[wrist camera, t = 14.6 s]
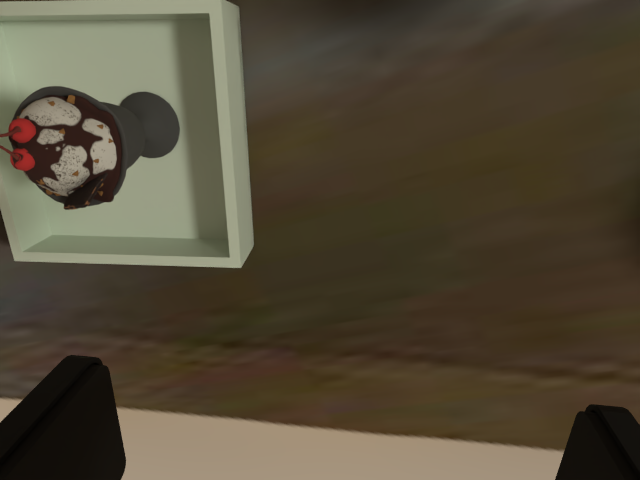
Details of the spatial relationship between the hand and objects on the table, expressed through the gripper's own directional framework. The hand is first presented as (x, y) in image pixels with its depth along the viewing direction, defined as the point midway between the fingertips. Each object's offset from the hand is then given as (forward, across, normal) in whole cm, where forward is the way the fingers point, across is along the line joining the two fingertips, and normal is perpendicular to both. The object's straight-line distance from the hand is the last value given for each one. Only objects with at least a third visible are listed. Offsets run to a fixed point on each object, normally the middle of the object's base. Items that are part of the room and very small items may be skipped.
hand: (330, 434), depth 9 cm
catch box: (+27, +18, 0) cm, 33 cm away
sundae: (+27, +16, -1) cm, 31 cm away
